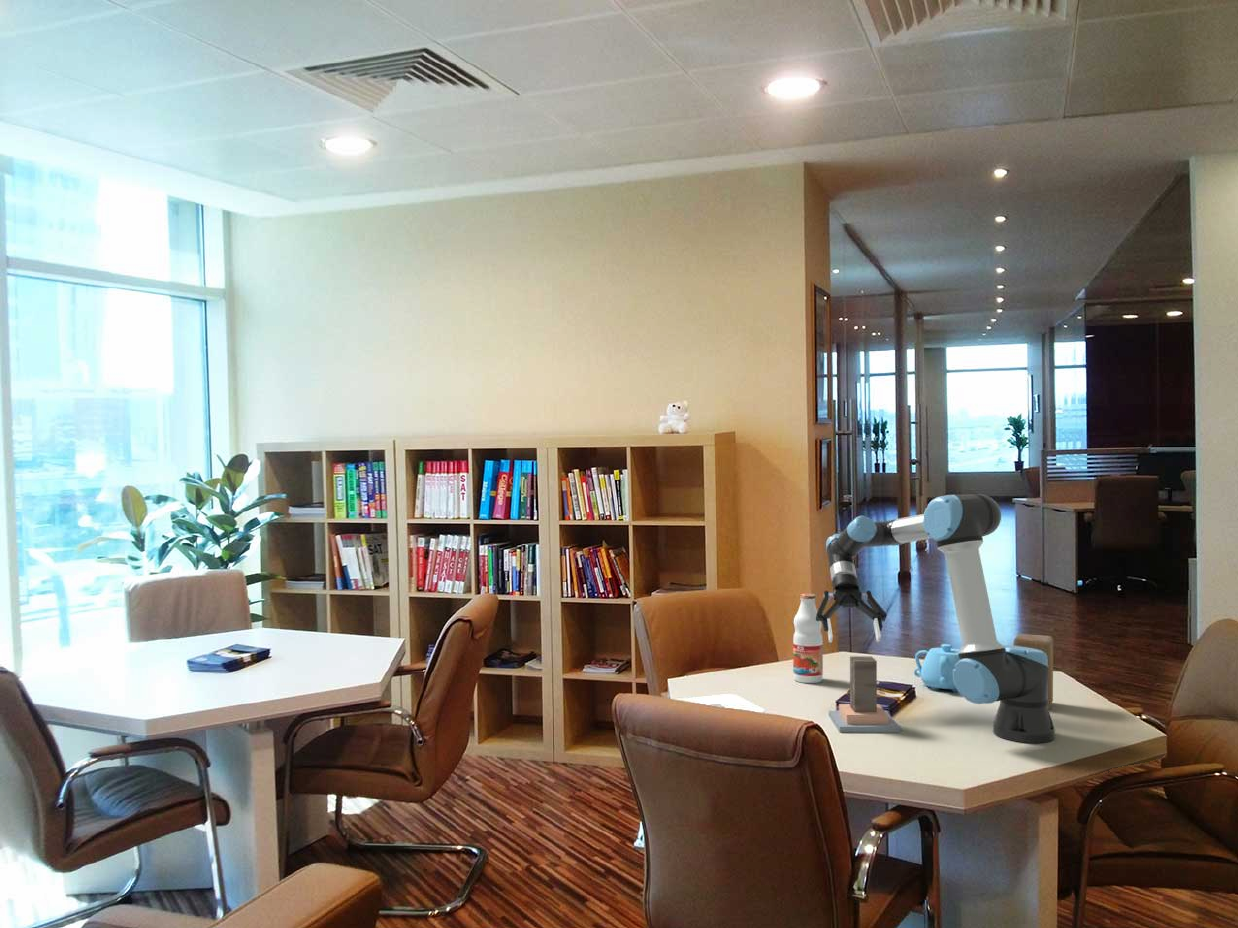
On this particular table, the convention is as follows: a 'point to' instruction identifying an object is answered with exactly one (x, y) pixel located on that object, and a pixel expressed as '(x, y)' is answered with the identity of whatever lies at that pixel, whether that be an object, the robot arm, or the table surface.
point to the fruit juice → (807, 643)
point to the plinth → (863, 726)
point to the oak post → (863, 684)
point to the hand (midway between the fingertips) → (855, 639)
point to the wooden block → (1044, 645)
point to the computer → (726, 702)
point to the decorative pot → (938, 667)
